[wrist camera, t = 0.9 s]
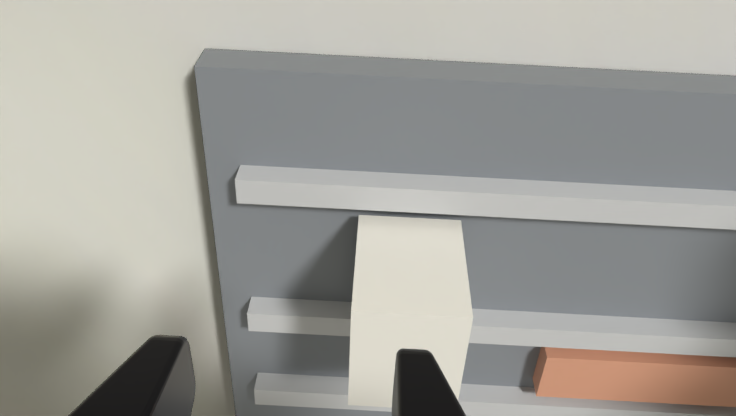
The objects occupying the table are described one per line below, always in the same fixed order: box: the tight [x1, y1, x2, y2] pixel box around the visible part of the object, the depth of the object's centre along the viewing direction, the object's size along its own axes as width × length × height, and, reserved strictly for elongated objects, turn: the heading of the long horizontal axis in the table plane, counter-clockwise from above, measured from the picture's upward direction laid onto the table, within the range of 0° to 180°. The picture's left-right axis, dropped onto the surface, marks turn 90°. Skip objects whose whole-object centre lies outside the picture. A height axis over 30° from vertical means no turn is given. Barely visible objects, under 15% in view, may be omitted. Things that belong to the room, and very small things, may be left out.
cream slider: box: [348, 215, 473, 407], centre depth 19 cm, size 3×4×4 cm
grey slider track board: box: [194, 49, 736, 416], centre depth 24 cm, size 24×20×2 cm
